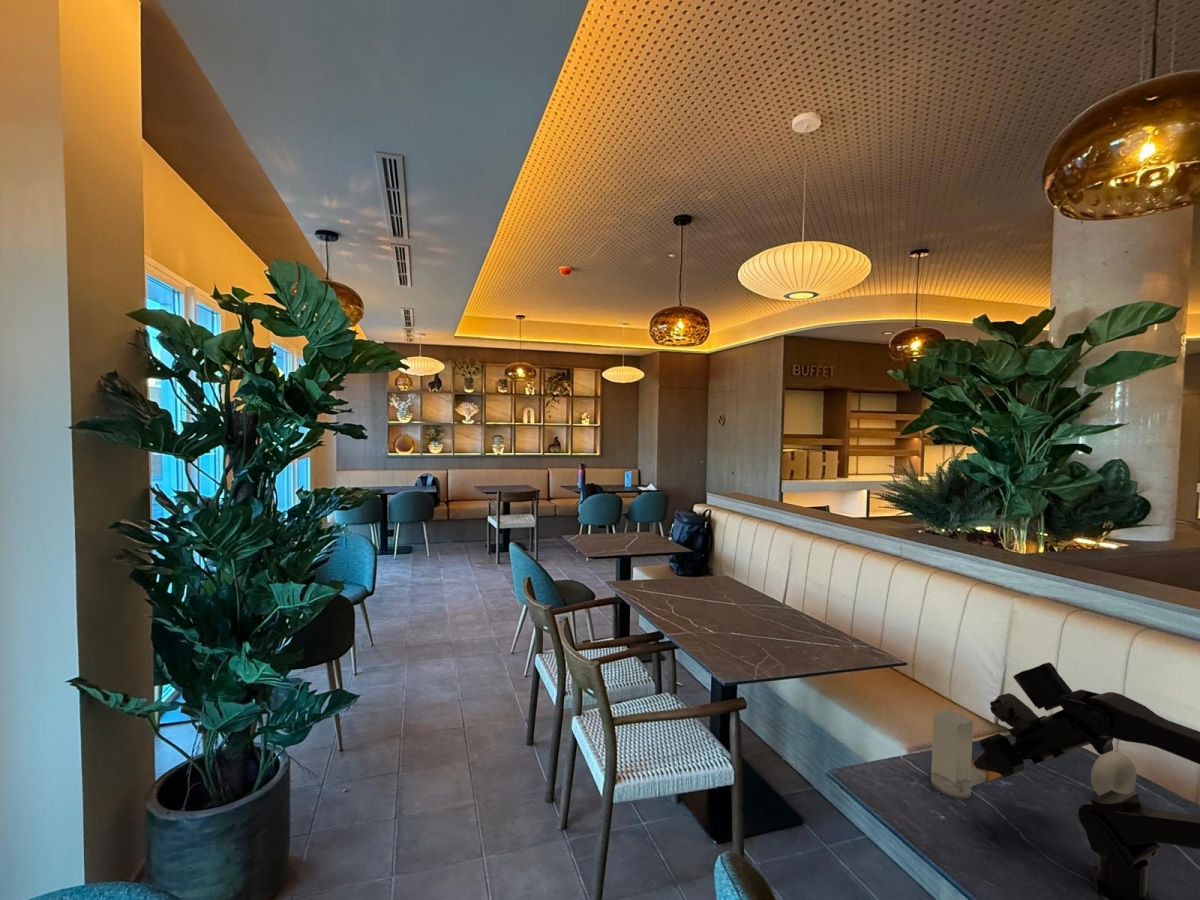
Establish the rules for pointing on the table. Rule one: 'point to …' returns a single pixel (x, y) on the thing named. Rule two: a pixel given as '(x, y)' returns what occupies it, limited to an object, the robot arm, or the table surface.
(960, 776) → the tall beige block
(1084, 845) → the table surface
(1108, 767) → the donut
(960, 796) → the ratchet
